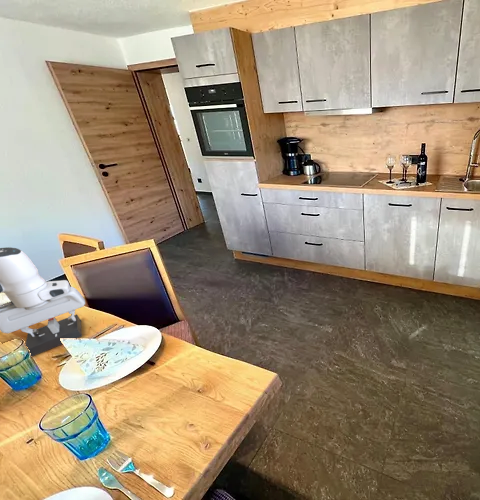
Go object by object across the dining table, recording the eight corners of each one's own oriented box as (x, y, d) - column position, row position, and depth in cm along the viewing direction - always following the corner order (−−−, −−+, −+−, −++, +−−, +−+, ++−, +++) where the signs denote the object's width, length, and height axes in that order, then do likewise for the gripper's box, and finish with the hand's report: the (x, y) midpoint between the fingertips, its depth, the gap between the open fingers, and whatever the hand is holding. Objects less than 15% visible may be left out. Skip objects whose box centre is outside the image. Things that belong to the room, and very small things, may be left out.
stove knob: (59, 331, 97) (53, 323, 95) (53, 334, 96) (46, 325, 94) (59, 324, 100) (53, 316, 98) (53, 327, 99) (47, 318, 97)
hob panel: (29, 357, 92) (24, 350, 90) (32, 338, 99) (27, 331, 98) (82, 336, 99) (77, 329, 97) (81, 320, 106) (76, 313, 105)
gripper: (-19, 315, 83) (10, 349, 90) (73, 286, 95) (92, 318, 101) (-14, 305, 87) (13, 338, 94) (72, 278, 99) (92, 309, 106)
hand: (55, 327), depth 98 cm, fingers open, 8 cm apart
